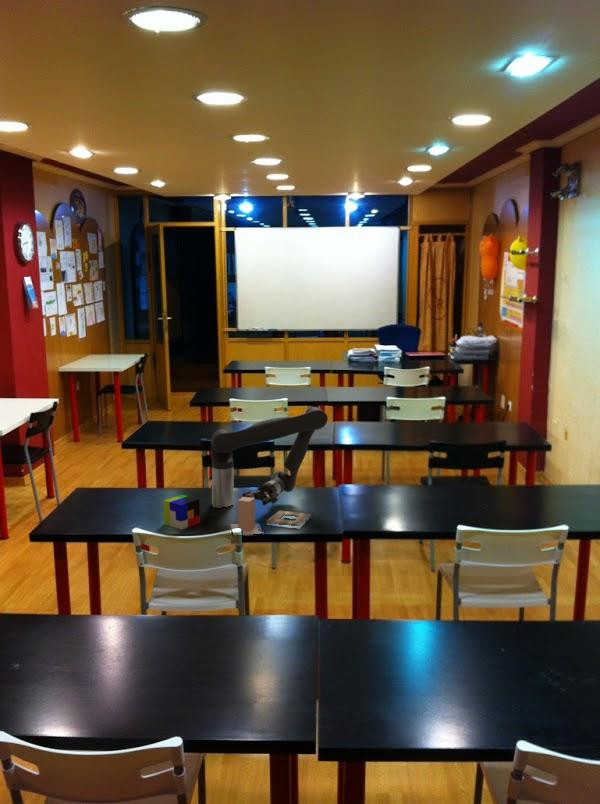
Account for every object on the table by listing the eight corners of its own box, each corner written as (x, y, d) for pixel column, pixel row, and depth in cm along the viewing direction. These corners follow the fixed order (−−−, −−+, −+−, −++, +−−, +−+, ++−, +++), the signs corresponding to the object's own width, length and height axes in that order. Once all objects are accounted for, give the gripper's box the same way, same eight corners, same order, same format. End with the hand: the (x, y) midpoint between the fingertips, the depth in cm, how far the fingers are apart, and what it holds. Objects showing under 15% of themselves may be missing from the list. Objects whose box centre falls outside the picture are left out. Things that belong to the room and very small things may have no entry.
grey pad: (232, 536, 273) (232, 534, 273) (230, 525, 284) (230, 524, 284) (263, 534, 275) (263, 532, 275) (260, 524, 287) (260, 522, 286)
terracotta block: (238, 529, 278) (237, 500, 276) (243, 525, 283) (243, 496, 281) (249, 531, 276) (249, 501, 274) (254, 527, 281) (254, 498, 279)
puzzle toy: (181, 529, 280) (181, 505, 279) (164, 524, 286) (163, 500, 285) (199, 523, 288) (199, 499, 286) (182, 518, 294) (182, 494, 292)
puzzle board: (266, 525, 285) (266, 520, 285) (279, 514, 298) (279, 510, 298) (299, 529, 281) (299, 524, 280) (310, 518, 294) (311, 514, 293)
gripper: (253, 480, 302) (237, 490, 287) (284, 484, 297) (269, 494, 282) (253, 497, 303) (237, 508, 288) (284, 501, 298) (269, 512, 283)
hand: (253, 501), depth 285 cm, fingers open, 8 cm apart
